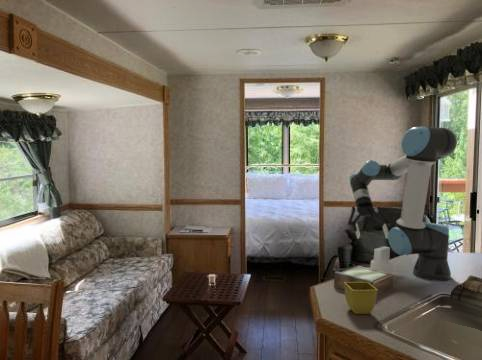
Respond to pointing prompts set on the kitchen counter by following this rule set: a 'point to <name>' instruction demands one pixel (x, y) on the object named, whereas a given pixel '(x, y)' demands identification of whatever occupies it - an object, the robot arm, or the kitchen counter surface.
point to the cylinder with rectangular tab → (382, 260)
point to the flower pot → (360, 296)
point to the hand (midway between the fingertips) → (373, 237)
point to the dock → (365, 278)
